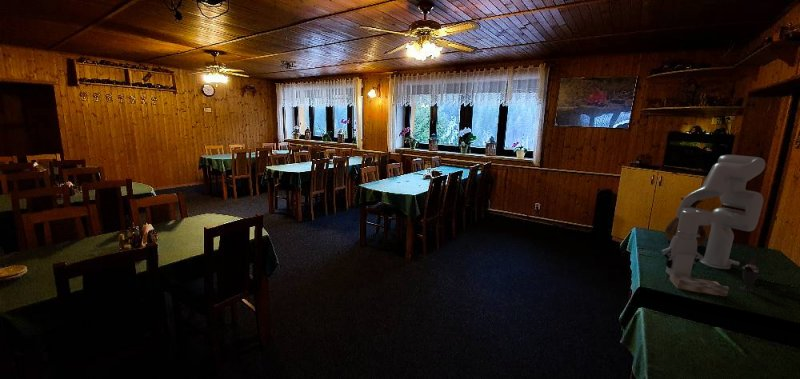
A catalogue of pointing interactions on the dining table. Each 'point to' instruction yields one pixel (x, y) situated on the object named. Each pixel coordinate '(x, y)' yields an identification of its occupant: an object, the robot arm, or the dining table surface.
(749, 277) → the sundae
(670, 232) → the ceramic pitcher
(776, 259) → the dining table surface
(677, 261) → the supplement box
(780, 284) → the dining table surface
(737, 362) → the dining table surface
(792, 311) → the dining table surface
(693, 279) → the display board
